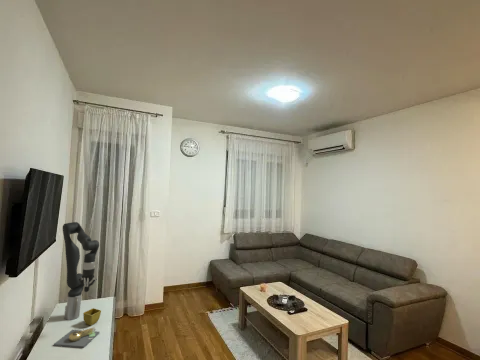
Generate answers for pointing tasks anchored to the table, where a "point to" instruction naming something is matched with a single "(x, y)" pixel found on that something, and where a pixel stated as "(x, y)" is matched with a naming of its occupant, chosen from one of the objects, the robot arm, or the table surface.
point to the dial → (80, 334)
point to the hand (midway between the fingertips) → (86, 291)
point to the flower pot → (91, 316)
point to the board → (78, 344)
